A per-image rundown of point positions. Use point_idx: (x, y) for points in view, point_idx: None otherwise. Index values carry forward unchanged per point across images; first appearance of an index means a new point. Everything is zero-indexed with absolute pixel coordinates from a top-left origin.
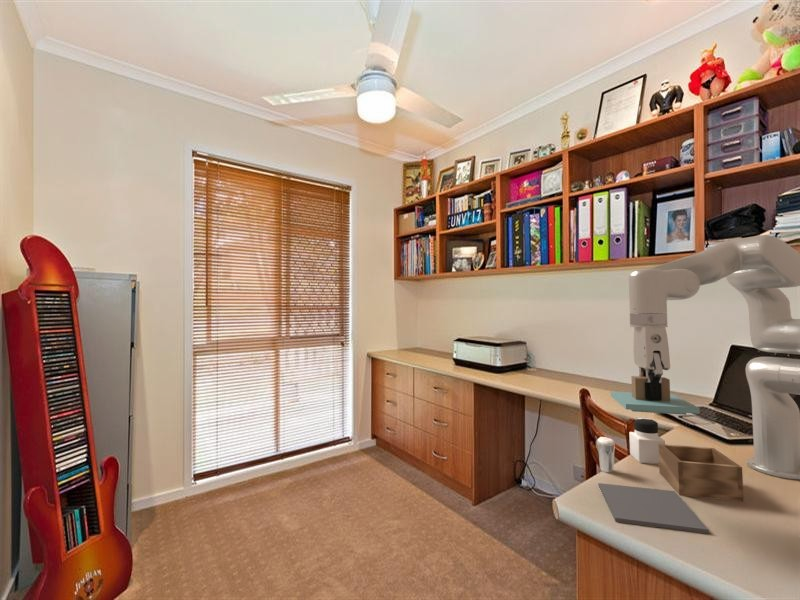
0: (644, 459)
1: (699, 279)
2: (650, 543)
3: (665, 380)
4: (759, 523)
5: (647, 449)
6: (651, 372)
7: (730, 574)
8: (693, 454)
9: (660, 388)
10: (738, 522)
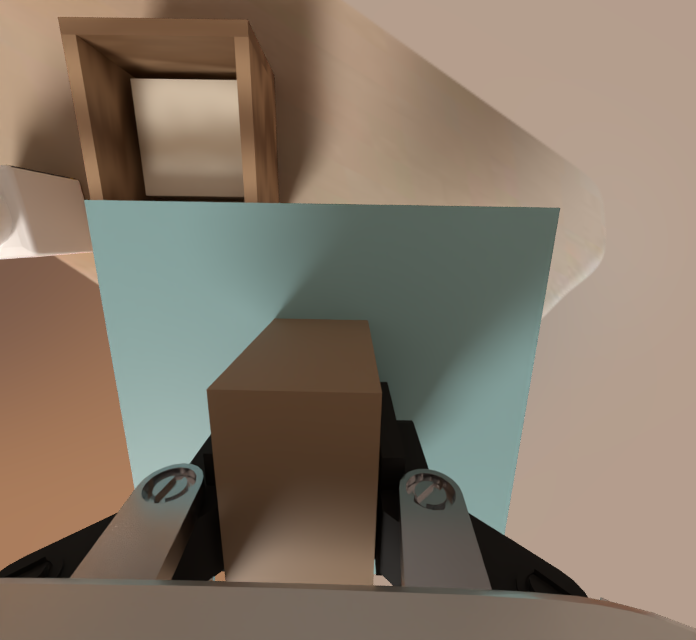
0: (86, 237)
1: None
2: None
3: (376, 426)
4: (380, 102)
5: (58, 227)
6: (173, 567)
7: (564, 259)
8: (105, 111)
9: (399, 433)
10: (385, 149)
